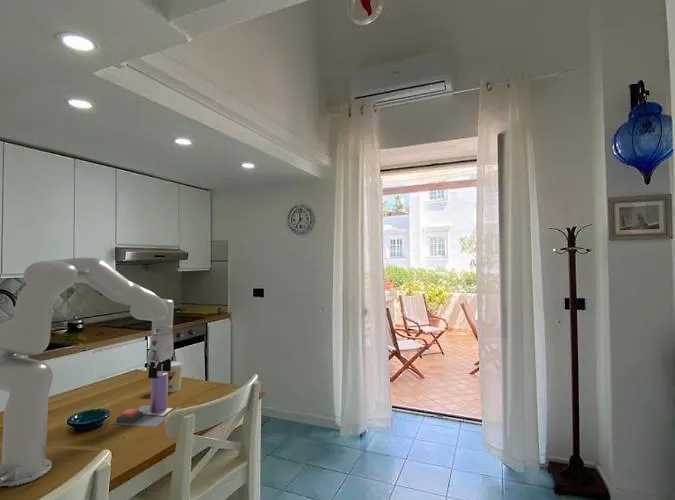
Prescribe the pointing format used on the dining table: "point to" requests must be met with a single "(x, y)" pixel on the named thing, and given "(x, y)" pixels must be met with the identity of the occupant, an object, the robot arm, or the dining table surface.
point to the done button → (130, 413)
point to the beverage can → (159, 393)
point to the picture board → (145, 417)
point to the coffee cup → (174, 376)
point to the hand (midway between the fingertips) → (159, 374)
